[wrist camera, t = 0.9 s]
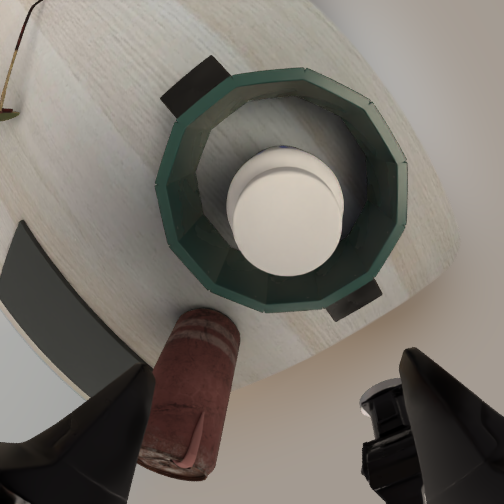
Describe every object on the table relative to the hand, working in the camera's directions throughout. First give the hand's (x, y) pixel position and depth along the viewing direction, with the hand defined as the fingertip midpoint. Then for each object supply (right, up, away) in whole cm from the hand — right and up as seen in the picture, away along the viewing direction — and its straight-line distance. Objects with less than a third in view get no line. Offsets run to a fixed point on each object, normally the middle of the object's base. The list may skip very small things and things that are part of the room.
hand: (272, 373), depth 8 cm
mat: (-26, -7, +20) cm, 33 cm away
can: (-5, -3, +16) cm, 17 cm away
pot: (+2, +9, +10) cm, 13 cm away
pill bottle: (+2, +9, +10) cm, 14 cm away
